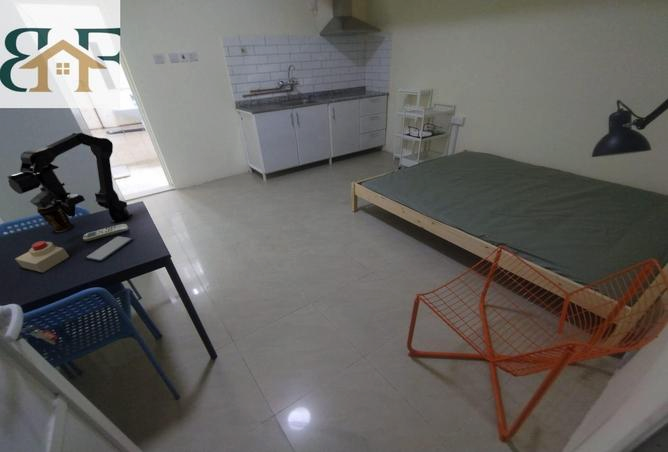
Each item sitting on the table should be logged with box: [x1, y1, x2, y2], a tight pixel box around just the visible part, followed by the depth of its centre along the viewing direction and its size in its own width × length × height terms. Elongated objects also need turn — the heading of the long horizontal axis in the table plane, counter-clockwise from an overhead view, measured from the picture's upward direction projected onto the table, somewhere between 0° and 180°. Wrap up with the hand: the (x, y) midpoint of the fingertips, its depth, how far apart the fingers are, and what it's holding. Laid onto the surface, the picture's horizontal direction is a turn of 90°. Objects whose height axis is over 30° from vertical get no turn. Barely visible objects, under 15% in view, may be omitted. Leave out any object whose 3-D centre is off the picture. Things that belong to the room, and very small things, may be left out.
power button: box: [31, 240, 48, 251], centre depth 110 cm, size 4×4×2 cm
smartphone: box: [86, 235, 133, 262], centre depth 118 cm, size 8×1×15 cm
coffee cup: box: [36, 205, 73, 233], centre depth 131 cm, size 9×8×13 cm
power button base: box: [14, 241, 70, 274], centre depth 111 cm, size 10×12×6 cm
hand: (72, 216), depth 119 cm, fingers closed
